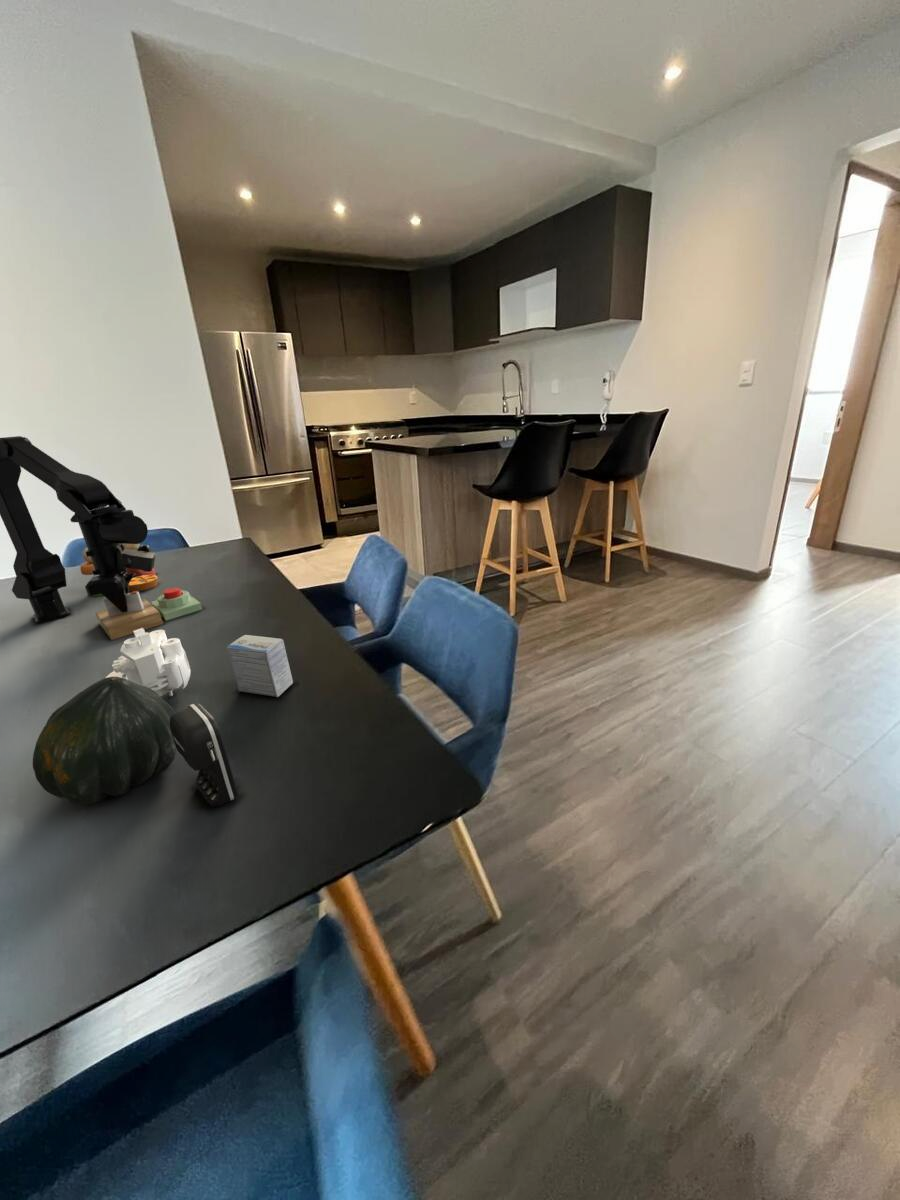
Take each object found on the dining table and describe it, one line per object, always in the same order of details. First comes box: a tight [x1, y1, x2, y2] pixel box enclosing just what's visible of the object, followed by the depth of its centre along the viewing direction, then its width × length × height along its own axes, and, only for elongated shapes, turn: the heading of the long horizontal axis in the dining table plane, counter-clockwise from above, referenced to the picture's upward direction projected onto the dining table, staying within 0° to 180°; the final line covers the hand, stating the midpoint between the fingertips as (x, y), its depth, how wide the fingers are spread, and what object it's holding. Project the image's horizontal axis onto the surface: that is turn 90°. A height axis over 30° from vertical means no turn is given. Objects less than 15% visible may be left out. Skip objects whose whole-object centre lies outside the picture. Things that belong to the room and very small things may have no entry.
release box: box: [150, 589, 203, 621], centre depth 117 cm, size 11×8×4 cm
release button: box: [162, 587, 182, 599], centre depth 116 cm, size 4×4×2 cm
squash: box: [32, 677, 177, 806], centre depth 62 cm, size 14×15×15 cm
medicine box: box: [226, 634, 294, 698], centre depth 80 cm, size 8×4×9 cm, turn 71°
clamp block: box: [95, 598, 164, 641], centre depth 110 cm, size 12×11×3 cm
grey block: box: [103, 591, 144, 616], centre depth 108 cm, size 6×2×4 cm, turn 112°
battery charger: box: [170, 702, 239, 808], centre depth 58 cm, size 7×4×11 cm, turn 45°
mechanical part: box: [105, 628, 191, 698], centre depth 78 cm, size 11×12×12 cm
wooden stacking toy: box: [80, 543, 158, 597], centre depth 135 cm, size 18×17×12 cm
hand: (125, 610), depth 109 cm, fingers closed on grey block, 2 cm apart
